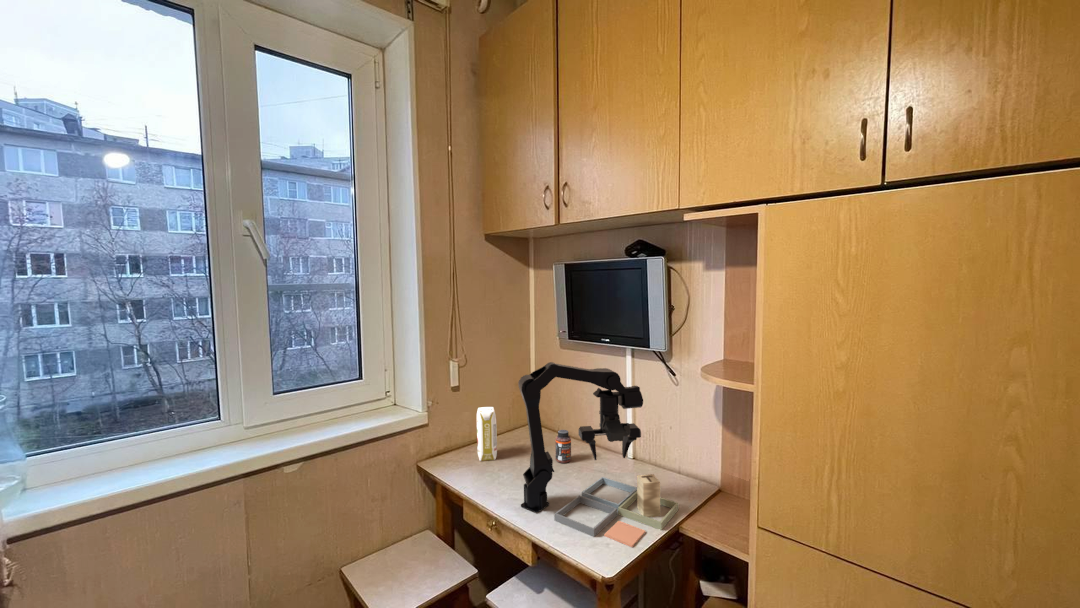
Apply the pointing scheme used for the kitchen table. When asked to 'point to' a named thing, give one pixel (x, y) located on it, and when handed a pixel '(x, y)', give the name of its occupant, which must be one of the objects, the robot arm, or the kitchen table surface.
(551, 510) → the kitchen table surface
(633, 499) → the tray olive
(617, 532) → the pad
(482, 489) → the kitchen table surface
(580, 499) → the tray charcoal
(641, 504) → the letter block
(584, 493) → the tray slate
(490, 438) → the juice carton
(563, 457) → the supplement bottle
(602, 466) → the kitchen table surface
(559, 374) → the robot arm
